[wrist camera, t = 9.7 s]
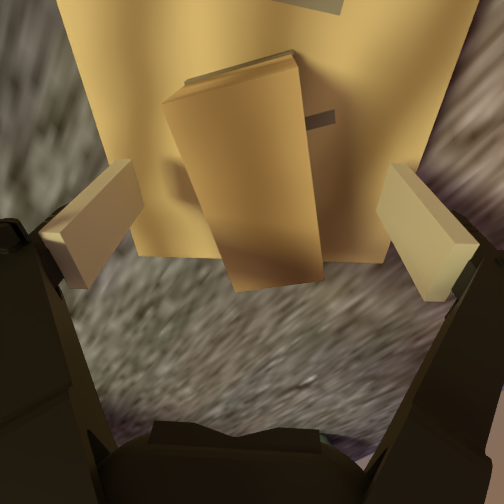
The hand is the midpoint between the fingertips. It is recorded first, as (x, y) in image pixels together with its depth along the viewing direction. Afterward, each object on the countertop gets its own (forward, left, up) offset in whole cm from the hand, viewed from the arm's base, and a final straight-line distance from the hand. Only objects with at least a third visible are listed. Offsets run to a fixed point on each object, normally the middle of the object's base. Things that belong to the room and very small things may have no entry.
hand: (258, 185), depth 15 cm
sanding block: (0, 0, -2) cm, 2 cm away
